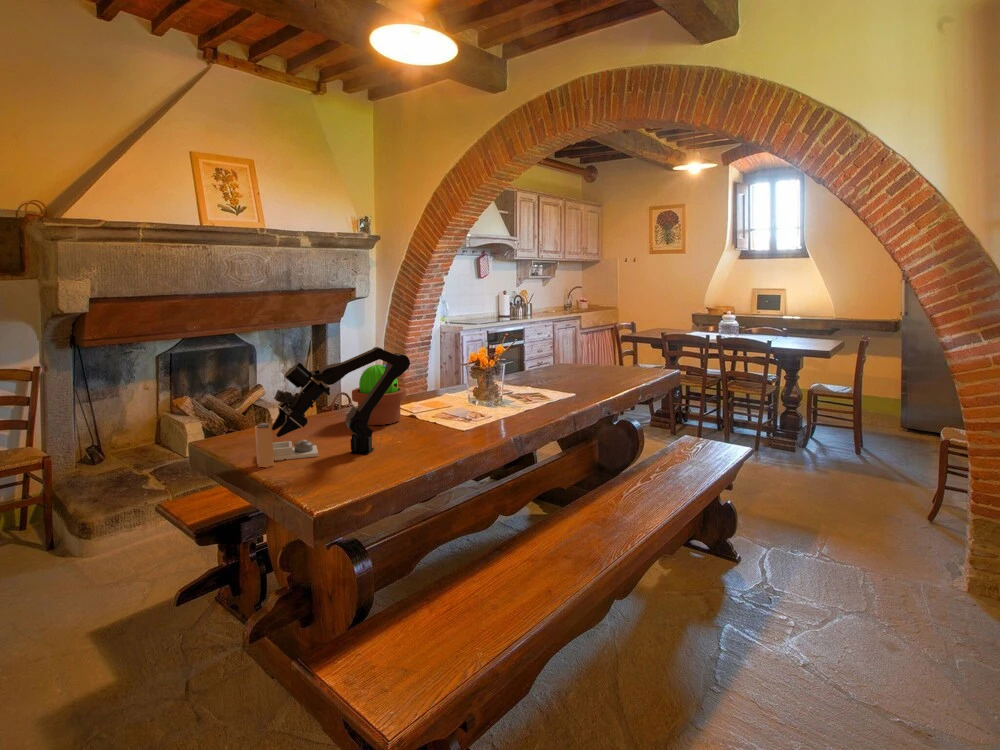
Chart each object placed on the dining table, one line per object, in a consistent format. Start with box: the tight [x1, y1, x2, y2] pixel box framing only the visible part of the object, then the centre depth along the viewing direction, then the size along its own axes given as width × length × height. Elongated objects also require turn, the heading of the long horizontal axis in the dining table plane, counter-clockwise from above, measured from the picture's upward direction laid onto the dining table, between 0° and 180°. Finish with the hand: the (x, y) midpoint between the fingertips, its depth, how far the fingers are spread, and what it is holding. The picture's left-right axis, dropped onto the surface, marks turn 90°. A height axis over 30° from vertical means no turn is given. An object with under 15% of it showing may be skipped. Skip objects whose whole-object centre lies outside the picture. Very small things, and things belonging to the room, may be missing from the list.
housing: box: [273, 439, 319, 461], centre depth 201 cm, size 18×10×5 cm, turn 110°
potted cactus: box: [351, 363, 407, 426], centre depth 247 cm, size 22×22×25 cm
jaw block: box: [254, 422, 275, 468], centre depth 189 cm, size 4×4×14 cm
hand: (274, 432), depth 190 cm, fingers open, 9 cm apart
